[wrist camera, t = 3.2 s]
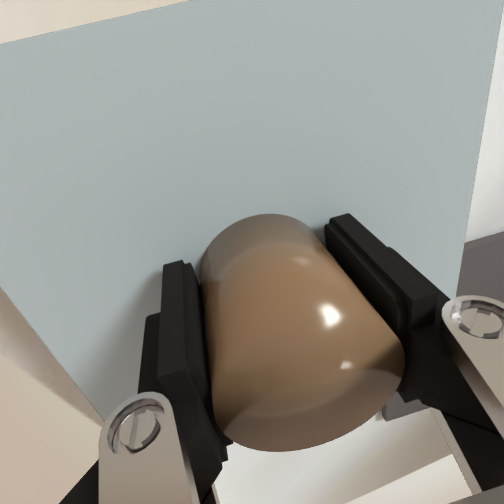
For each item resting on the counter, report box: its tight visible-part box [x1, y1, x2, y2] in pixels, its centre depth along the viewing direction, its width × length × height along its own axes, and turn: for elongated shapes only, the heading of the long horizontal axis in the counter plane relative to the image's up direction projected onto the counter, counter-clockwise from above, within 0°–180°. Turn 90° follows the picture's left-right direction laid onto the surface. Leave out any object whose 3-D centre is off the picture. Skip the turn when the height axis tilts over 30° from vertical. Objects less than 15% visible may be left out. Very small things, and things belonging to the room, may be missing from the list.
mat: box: [382, 232, 504, 422], centre depth 25 cm, size 18×16×1 cm
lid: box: [0, 0, 504, 452], centre depth 9 cm, size 14×14×6 cm
